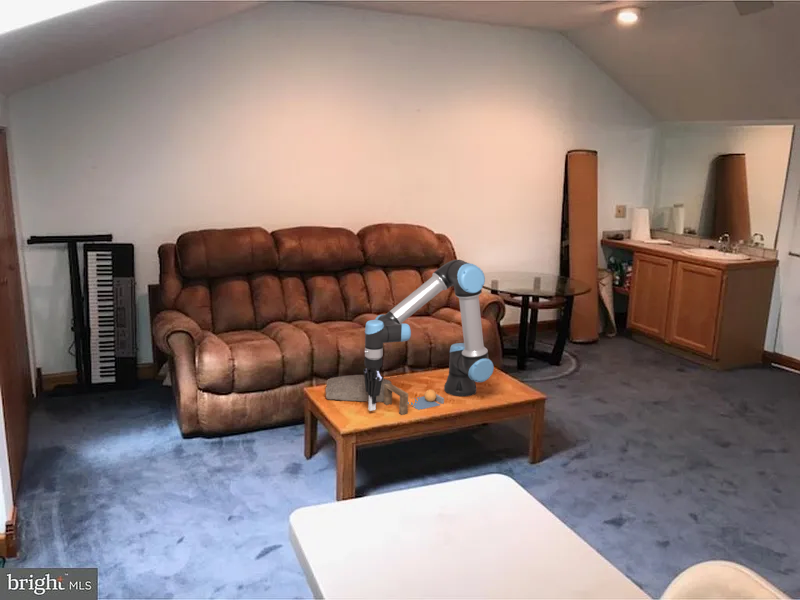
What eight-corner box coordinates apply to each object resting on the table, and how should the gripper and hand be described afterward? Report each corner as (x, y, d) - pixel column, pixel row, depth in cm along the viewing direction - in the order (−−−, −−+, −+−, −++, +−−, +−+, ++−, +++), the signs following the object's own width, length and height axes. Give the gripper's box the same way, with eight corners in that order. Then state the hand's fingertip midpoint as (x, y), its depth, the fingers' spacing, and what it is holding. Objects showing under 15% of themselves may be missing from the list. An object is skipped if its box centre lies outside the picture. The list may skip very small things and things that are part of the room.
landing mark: (424, 396, 313) (424, 396, 313) (440, 405, 303) (440, 404, 303) (403, 401, 306) (403, 400, 306) (418, 410, 297) (418, 409, 296)
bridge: (389, 402, 304) (390, 383, 302) (407, 413, 292) (408, 393, 290) (383, 403, 302) (384, 384, 300) (401, 415, 290) (402, 394, 288)
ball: (433, 395, 311) (430, 385, 309) (440, 399, 306) (437, 389, 304) (423, 401, 309) (420, 391, 306) (430, 405, 304) (427, 395, 302)
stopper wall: (430, 396, 313) (431, 391, 313) (443, 403, 305) (444, 398, 305) (428, 396, 313) (428, 391, 312) (441, 403, 305) (441, 398, 304)
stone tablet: (324, 402, 303) (391, 403, 303) (324, 385, 301) (391, 386, 301) (328, 387, 322) (391, 388, 323) (328, 370, 320) (391, 371, 321)
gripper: (358, 353, 288) (356, 406, 293) (373, 362, 278) (372, 416, 283) (373, 351, 292) (371, 403, 297) (389, 360, 282) (387, 413, 287)
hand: (372, 409), depth 290 cm, fingers closed
